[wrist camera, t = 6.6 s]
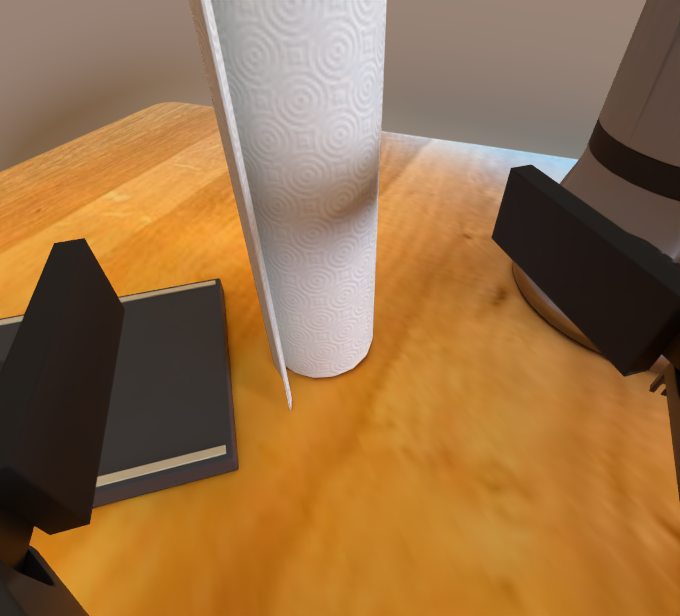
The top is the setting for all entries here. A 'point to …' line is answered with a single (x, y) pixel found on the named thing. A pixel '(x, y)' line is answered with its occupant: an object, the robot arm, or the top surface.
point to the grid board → (165, 392)
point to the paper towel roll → (303, 164)
